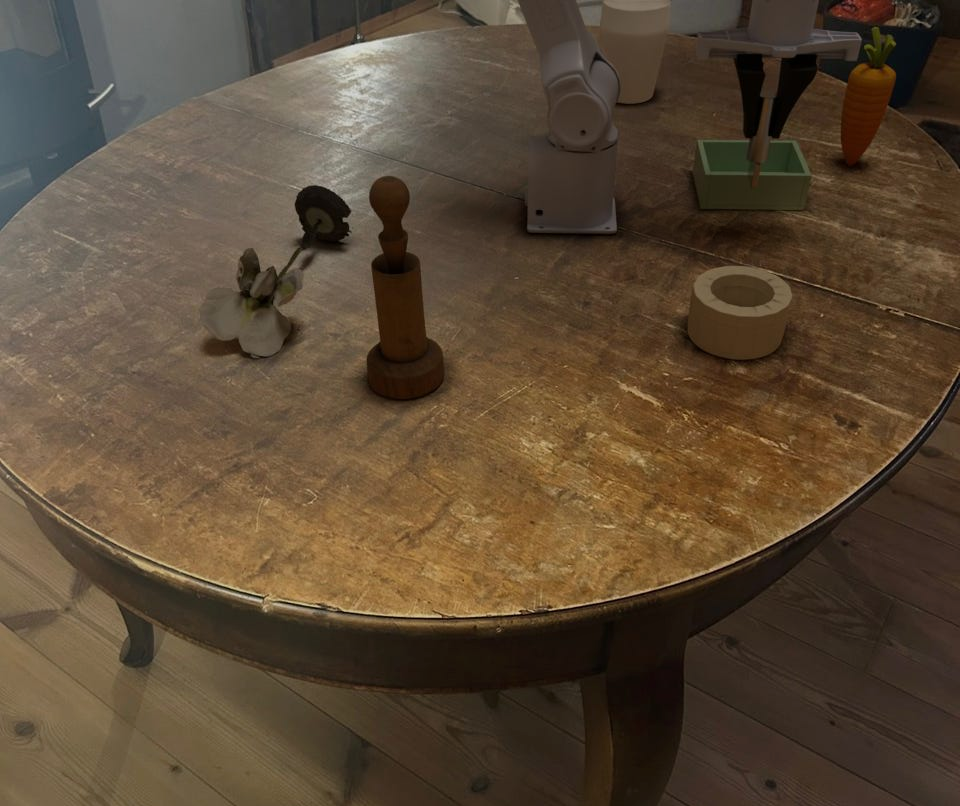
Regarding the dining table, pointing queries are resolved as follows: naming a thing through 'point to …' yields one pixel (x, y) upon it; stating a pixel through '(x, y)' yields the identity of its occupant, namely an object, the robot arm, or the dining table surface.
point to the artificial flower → (272, 280)
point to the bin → (728, 183)
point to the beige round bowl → (738, 312)
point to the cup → (635, 43)
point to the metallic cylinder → (761, 134)
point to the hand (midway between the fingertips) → (760, 134)
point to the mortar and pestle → (399, 305)
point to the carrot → (866, 99)
